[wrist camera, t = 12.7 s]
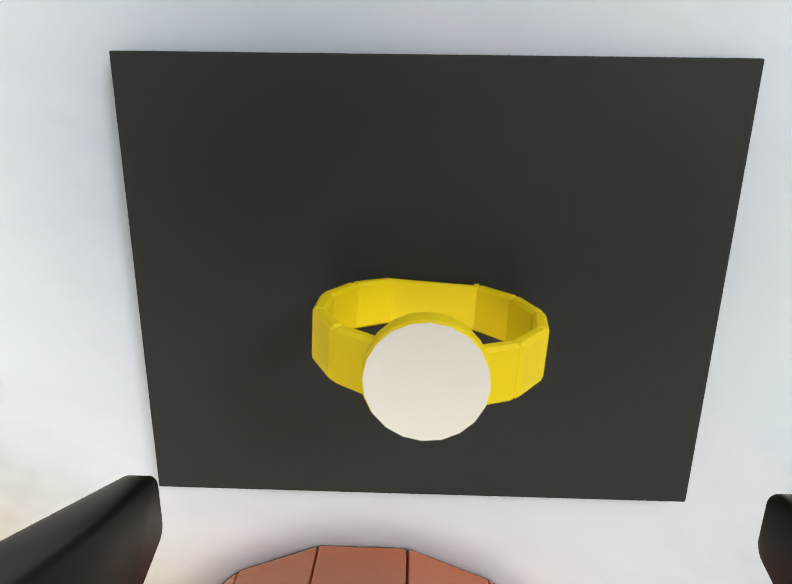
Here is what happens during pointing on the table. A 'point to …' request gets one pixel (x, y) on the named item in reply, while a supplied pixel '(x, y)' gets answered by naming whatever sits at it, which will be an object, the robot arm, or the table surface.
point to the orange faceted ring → (355, 568)
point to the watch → (428, 350)
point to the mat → (431, 255)
